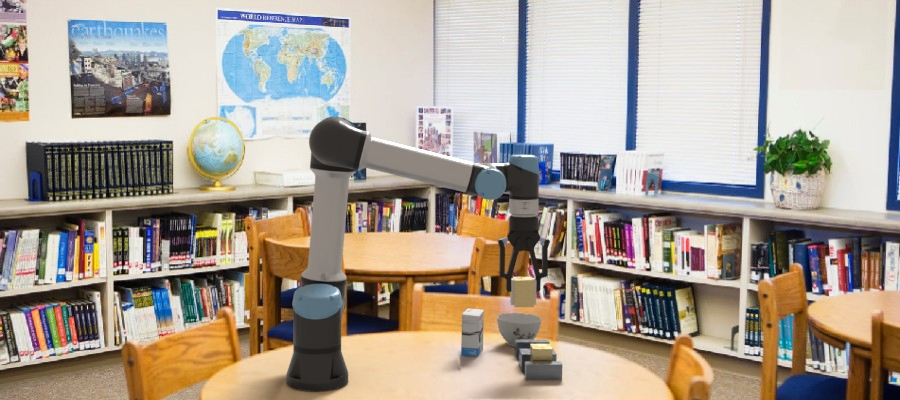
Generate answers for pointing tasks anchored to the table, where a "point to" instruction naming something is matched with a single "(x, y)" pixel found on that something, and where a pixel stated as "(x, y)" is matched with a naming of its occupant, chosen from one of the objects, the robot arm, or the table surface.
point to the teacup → (518, 326)
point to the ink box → (472, 332)
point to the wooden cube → (541, 352)
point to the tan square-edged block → (523, 292)
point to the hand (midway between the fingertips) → (523, 303)
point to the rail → (537, 362)
